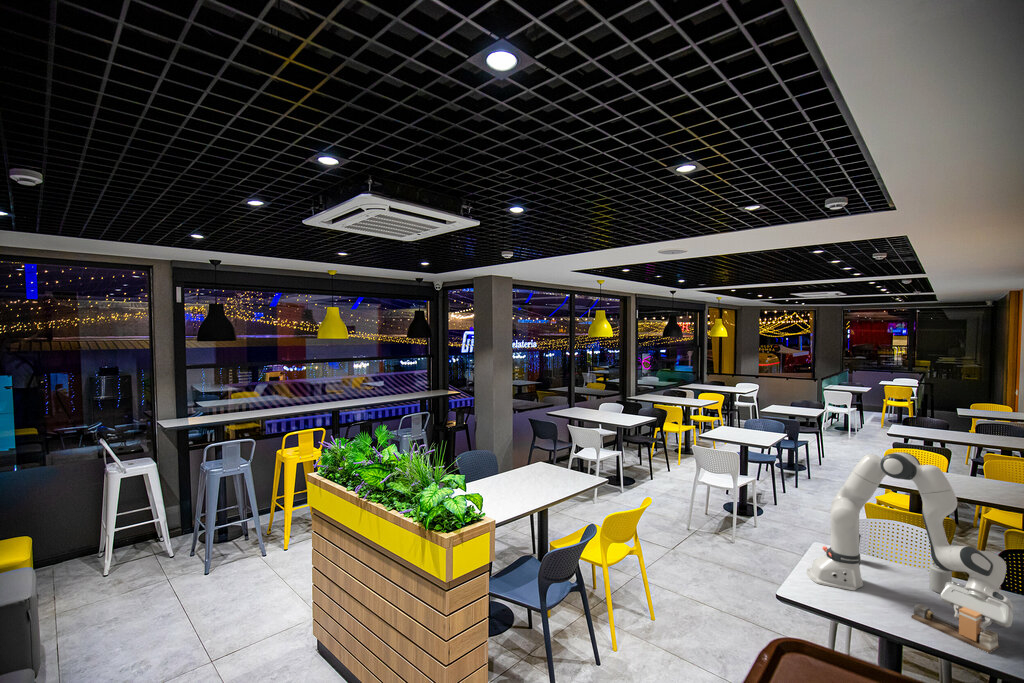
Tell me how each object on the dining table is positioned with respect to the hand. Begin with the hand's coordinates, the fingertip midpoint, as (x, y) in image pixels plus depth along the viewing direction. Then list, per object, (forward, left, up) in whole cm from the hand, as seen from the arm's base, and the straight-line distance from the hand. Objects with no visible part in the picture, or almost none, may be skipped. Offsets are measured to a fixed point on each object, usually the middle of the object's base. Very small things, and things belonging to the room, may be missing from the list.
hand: (968, 623), depth 181 cm
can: (+10, +38, -7) cm, 40 cm away
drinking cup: (-16, +62, -7) cm, 64 cm away
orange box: (+1, 0, -5) cm, 5 cm away
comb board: (-3, +4, -6) cm, 8 cm away
